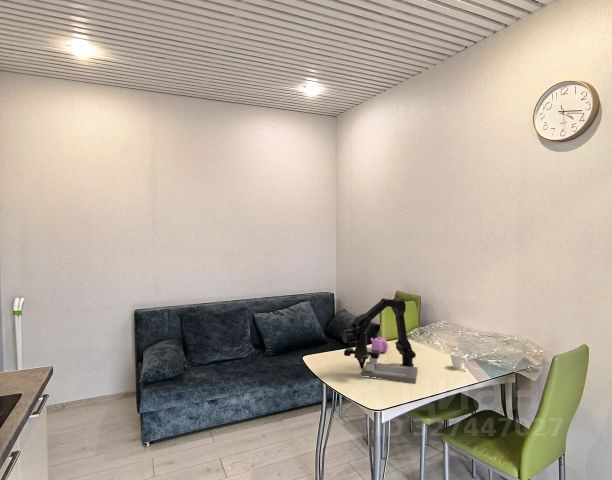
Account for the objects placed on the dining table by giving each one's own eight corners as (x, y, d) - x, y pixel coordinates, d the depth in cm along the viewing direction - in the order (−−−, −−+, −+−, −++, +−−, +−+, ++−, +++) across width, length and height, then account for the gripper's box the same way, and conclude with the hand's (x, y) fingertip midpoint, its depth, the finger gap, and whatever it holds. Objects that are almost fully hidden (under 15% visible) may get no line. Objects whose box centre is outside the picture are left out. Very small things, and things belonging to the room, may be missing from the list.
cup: (454, 364, 213) (454, 351, 213) (471, 369, 205) (471, 355, 205) (448, 367, 209) (447, 353, 208) (464, 373, 201) (464, 358, 200)
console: (367, 366, 214) (367, 361, 213) (417, 371, 204) (417, 367, 204) (361, 376, 199) (361, 372, 198) (415, 383, 189) (415, 378, 189)
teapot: (381, 355, 230) (381, 341, 230) (365, 349, 243) (364, 335, 243) (393, 352, 236) (392, 338, 236) (376, 346, 249) (376, 332, 248)
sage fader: (366, 368, 202) (366, 361, 202) (374, 369, 201) (374, 362, 200) (365, 371, 199) (365, 363, 199) (373, 371, 198) (373, 364, 198)
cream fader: (370, 362, 211) (370, 355, 211) (377, 363, 210) (377, 356, 210) (369, 364, 208) (369, 357, 208) (376, 365, 207) (376, 358, 207)
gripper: (341, 343, 197) (341, 372, 197) (375, 346, 190) (376, 376, 191) (346, 337, 207) (346, 364, 208) (379, 340, 201) (380, 368, 201)
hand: (362, 368), depth 202 cm, fingers closed
